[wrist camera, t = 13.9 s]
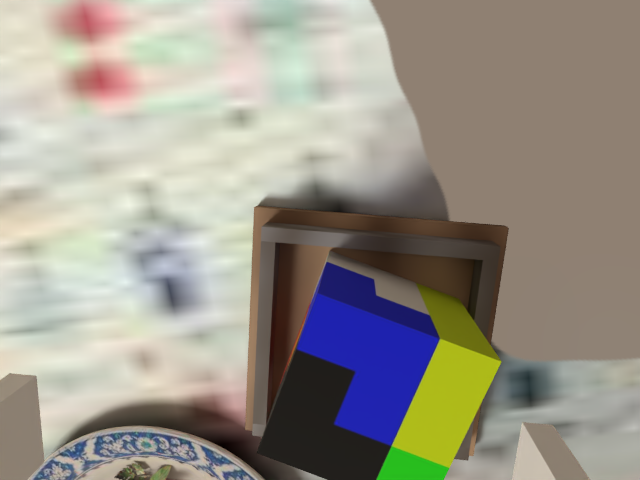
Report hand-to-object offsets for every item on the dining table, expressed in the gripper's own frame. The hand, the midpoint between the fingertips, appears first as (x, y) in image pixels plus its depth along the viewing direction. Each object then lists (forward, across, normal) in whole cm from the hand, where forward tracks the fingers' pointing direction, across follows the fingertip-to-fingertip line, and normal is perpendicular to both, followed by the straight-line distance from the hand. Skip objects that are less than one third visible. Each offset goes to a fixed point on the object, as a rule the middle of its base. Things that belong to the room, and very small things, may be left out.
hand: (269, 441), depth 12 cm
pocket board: (+22, +4, -6) cm, 23 cm away
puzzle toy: (+21, +4, -6) cm, 23 cm away
